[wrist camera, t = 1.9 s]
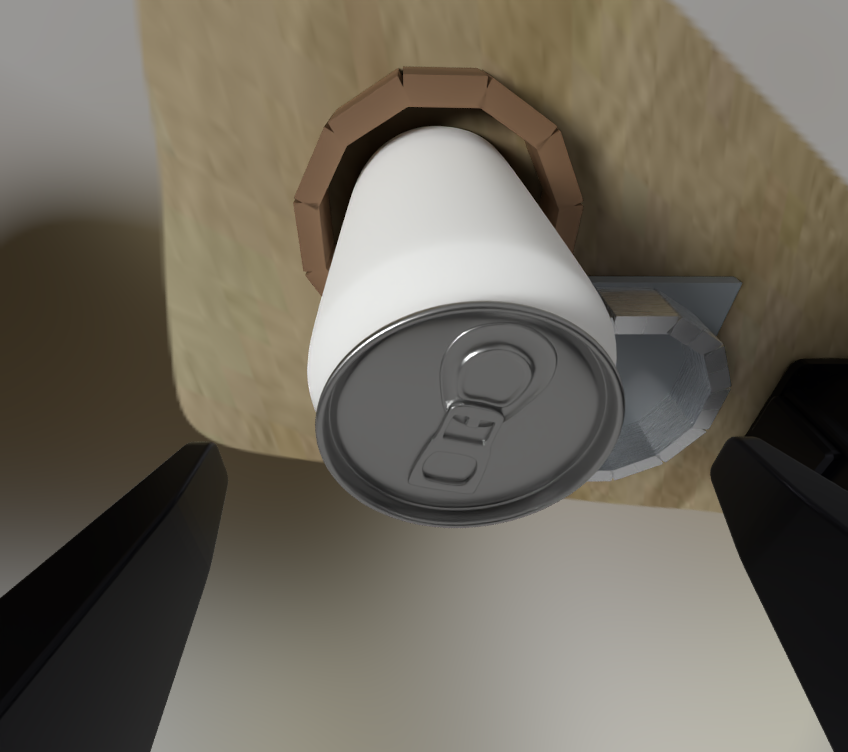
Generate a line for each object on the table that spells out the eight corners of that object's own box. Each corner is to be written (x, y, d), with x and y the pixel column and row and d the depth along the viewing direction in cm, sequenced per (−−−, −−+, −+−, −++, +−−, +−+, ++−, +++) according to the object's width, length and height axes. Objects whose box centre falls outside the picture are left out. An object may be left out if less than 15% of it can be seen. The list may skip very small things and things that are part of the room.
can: (547, 154, 17) (734, 335, 7) (482, 306, 21) (550, 556, 11) (371, 95, 15) (321, 223, 6) (336, 269, 19) (272, 517, 10)
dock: (734, 276, 20) (778, 311, 18) (657, 440, 26) (682, 482, 24) (503, 275, 20) (517, 311, 17) (481, 442, 26) (488, 485, 23)
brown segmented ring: (586, 70, 15) (612, 78, 13) (536, 322, 21) (550, 353, 19) (290, 64, 15) (273, 71, 13) (323, 322, 21) (315, 353, 19)
